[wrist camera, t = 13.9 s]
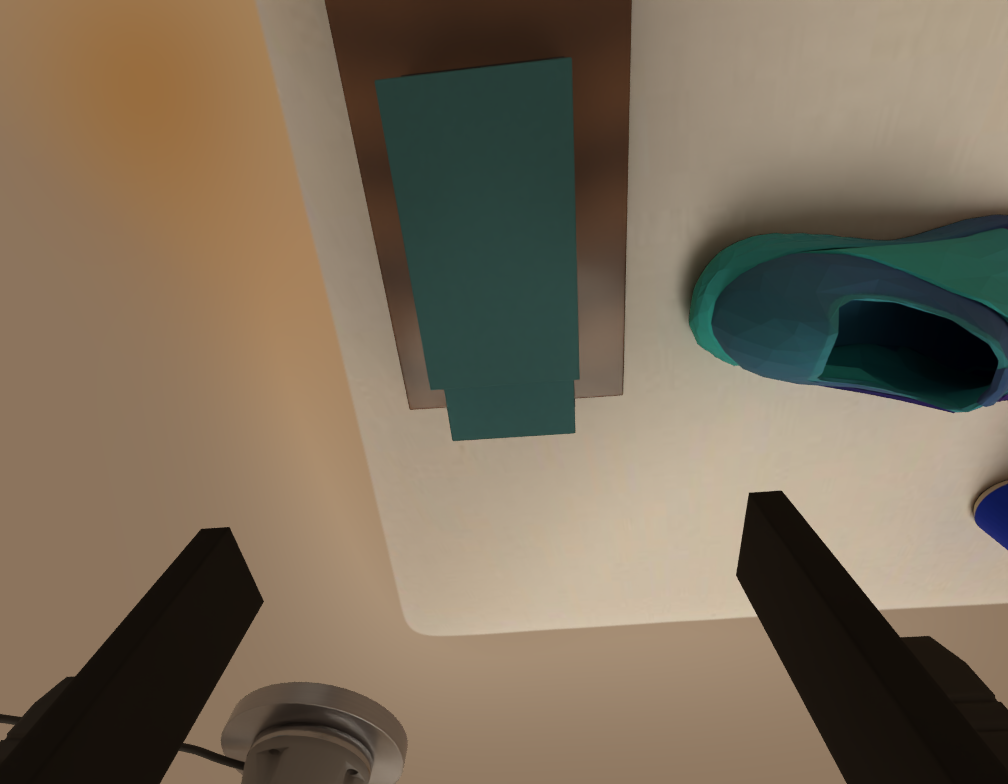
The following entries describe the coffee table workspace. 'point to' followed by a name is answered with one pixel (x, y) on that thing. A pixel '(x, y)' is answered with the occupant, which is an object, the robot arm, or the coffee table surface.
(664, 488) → the coffee table surface
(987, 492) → the beverage can
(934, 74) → the coffee table surface
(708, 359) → the coffee table surface
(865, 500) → the coffee table surface
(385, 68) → the brown wooden board
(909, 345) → the sneaker
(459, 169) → the teal stepped block
